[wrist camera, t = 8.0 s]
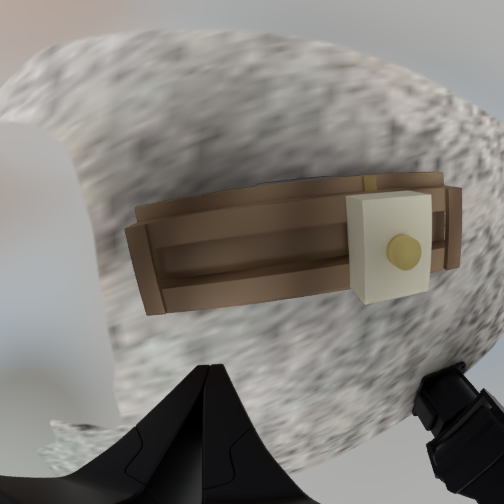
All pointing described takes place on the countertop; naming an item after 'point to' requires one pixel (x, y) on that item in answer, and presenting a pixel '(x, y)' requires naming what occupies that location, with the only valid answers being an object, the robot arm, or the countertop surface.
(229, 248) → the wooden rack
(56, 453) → the countertop surface
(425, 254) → the block
